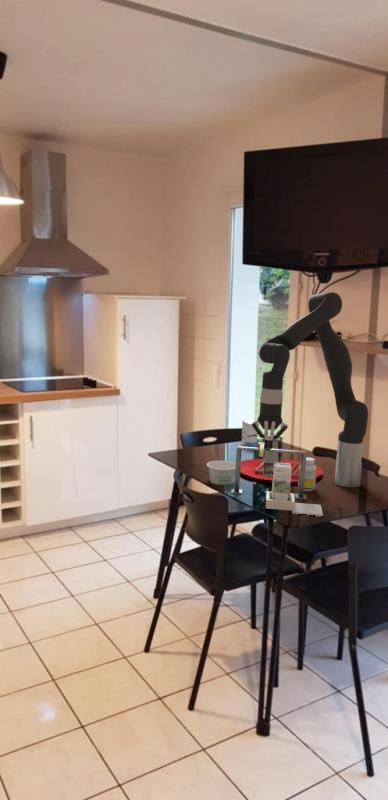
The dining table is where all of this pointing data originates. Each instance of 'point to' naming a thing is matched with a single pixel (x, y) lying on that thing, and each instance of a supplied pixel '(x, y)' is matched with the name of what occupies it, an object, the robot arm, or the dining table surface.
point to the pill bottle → (309, 474)
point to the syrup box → (281, 481)
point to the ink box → (248, 434)
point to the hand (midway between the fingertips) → (268, 449)
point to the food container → (221, 472)
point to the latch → (261, 448)
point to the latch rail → (240, 448)
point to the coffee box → (272, 457)
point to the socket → (280, 502)
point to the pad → (307, 509)
